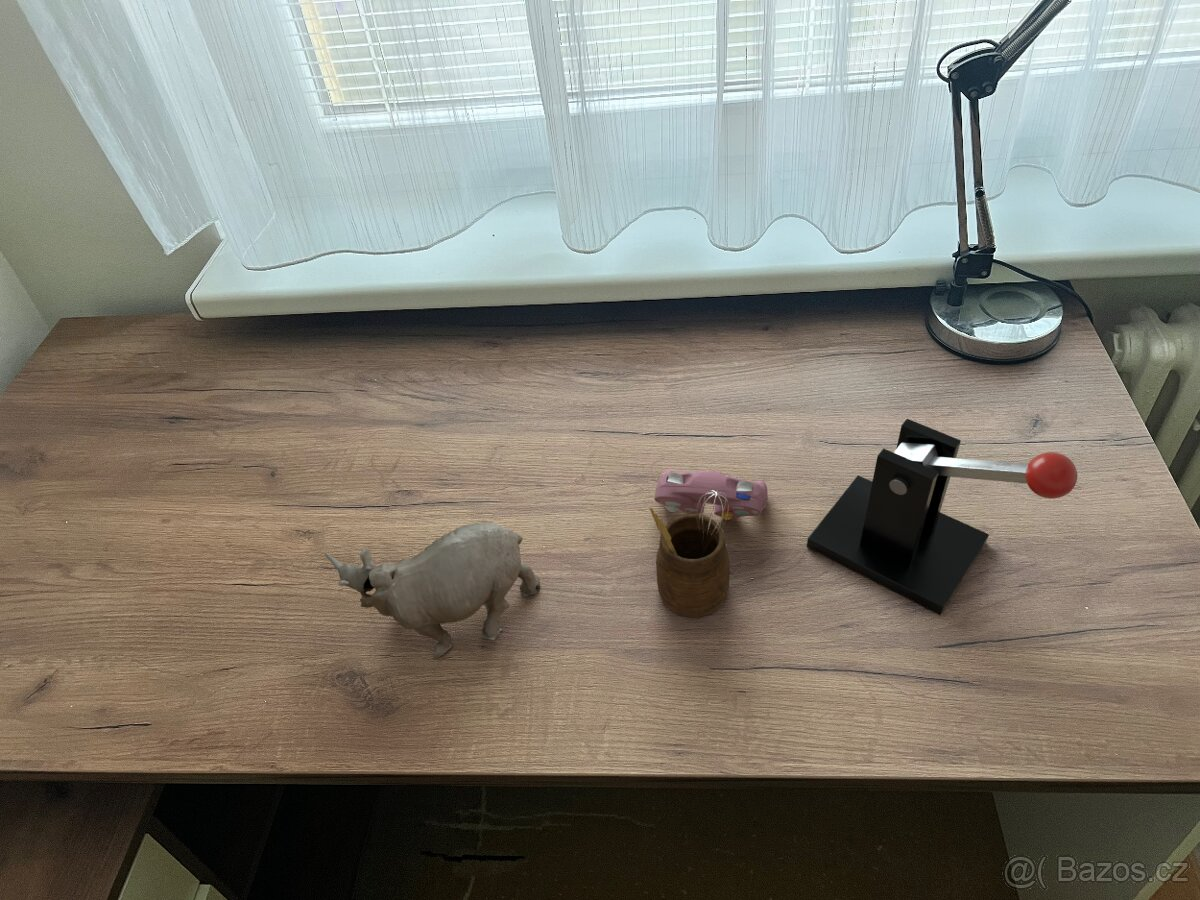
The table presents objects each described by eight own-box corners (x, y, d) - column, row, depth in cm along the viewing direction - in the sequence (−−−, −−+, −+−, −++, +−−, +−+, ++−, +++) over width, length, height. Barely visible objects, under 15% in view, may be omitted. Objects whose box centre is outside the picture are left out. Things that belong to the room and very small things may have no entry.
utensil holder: (743, 598, 72) (749, 502, 64) (679, 634, 70) (676, 539, 62) (702, 551, 76) (703, 454, 67) (641, 583, 74) (633, 488, 66)
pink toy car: (656, 520, 81) (646, 501, 74) (663, 473, 82) (655, 450, 76) (764, 534, 79) (764, 515, 72) (770, 486, 80) (770, 463, 73)
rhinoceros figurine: (575, 626, 68) (430, 532, 61) (455, 705, 73) (306, 627, 66) (568, 554, 74) (435, 460, 67) (457, 631, 79) (322, 552, 72)
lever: (1087, 481, 60) (1080, 444, 59) (1071, 510, 59) (1063, 472, 57) (912, 466, 70) (902, 434, 69) (894, 491, 69) (883, 458, 67)
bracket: (986, 543, 74) (1021, 444, 66) (940, 615, 69) (972, 519, 61) (856, 483, 80) (873, 386, 72) (806, 547, 75) (819, 450, 67)
